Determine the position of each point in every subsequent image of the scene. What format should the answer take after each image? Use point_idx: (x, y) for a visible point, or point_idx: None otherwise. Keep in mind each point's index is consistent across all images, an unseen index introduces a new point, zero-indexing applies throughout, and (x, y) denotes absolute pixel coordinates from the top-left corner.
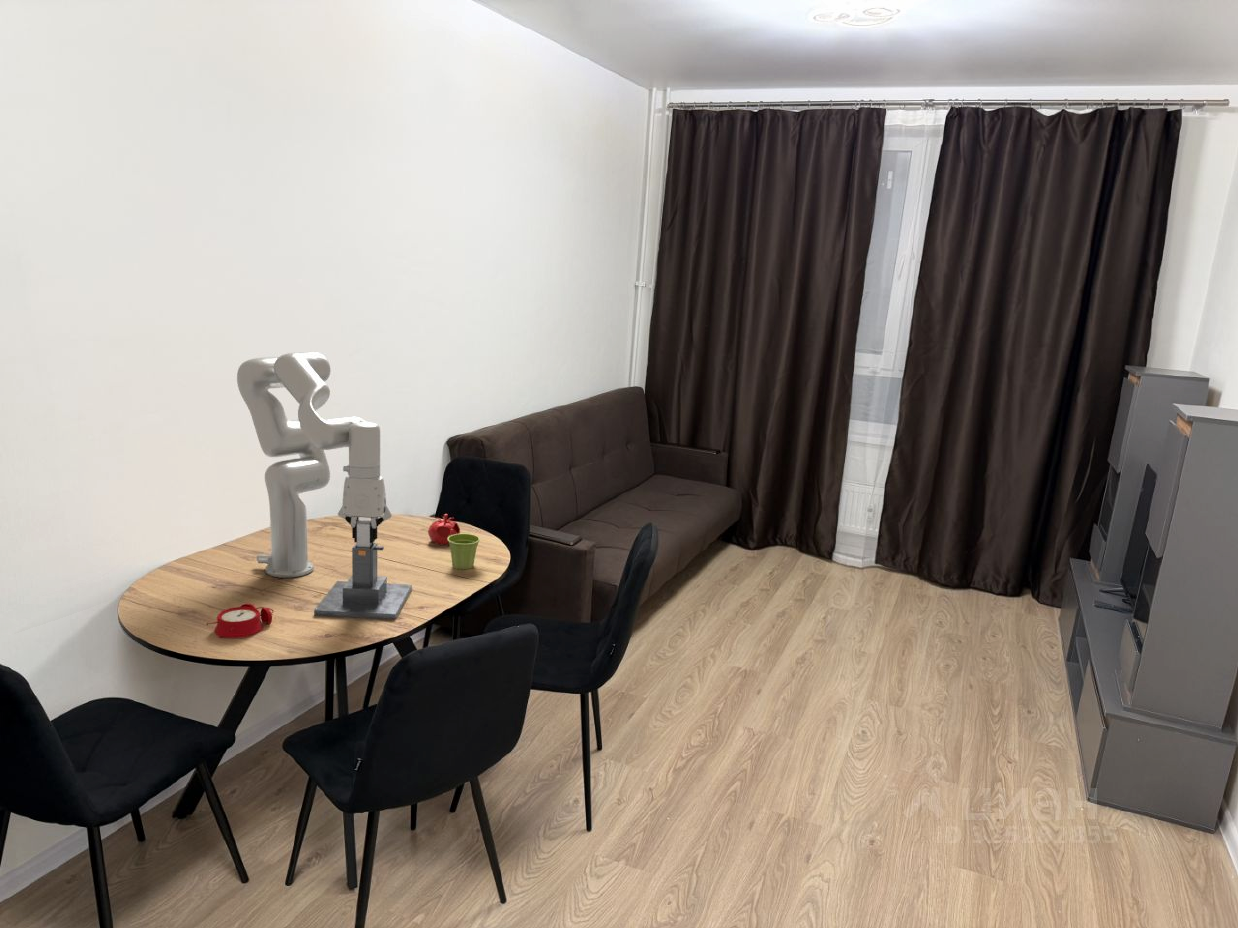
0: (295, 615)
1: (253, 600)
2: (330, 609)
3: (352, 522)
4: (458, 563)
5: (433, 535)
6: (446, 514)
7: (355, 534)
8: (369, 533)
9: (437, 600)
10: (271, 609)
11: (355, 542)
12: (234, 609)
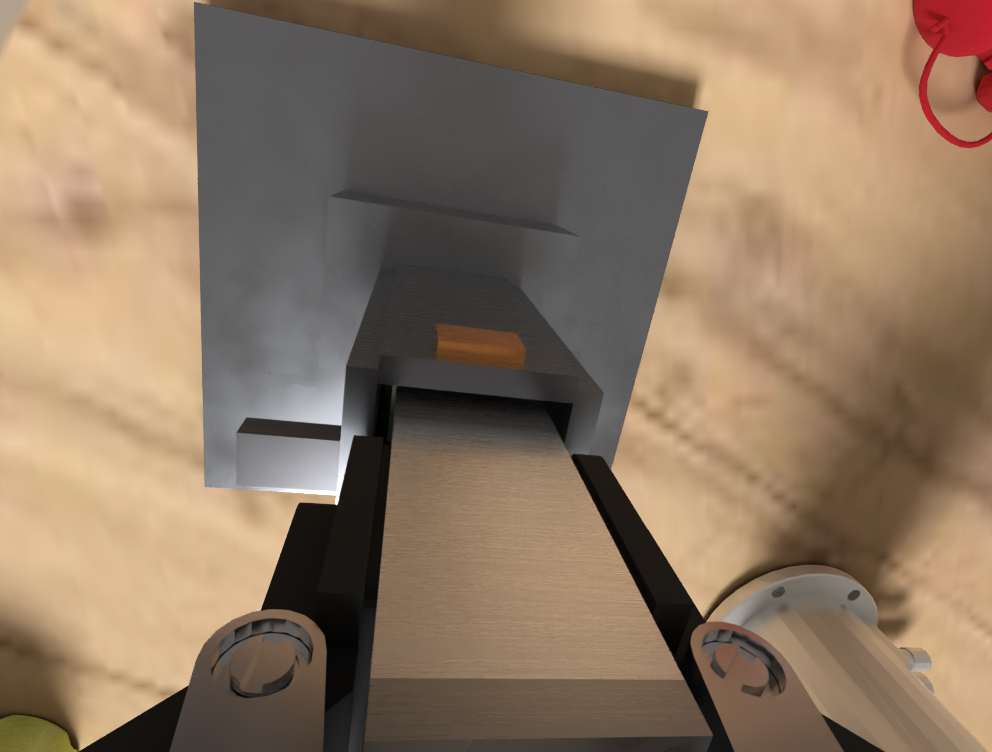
0: (781, 128)
1: (943, 330)
2: (618, 116)
3: (788, 719)
4: (8, 744)
5: None
6: None
7: (623, 519)
8: (387, 522)
9: (16, 326)
10: (929, 109)
11: (584, 455)
12: None
